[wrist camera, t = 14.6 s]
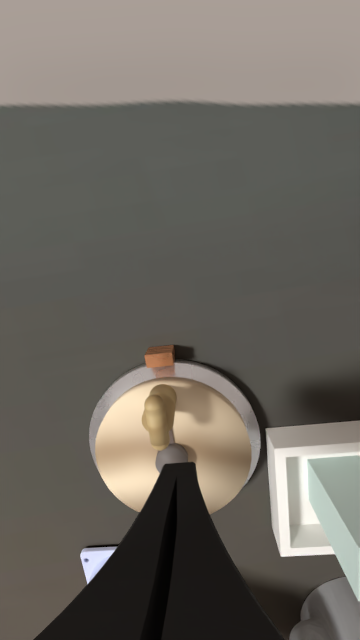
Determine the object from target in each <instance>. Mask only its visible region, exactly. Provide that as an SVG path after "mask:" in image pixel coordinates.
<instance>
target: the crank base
mask: <svg viewBox="0 0 360 640" xmlns="http://www.w3.org/2000/svg"><path fill="white" fill-rule="evenodd" d="M145 360H146V363H144V364H141V365H139V366H137V367H134V368H132V369H130V370H129V371H127V372H126V373H124V374H122V375H121V376H120V377H119V378H118V379H116V380H115V381H114V382H113V383H112V384H111V386H110V387H109V388H108V389H107V390H106V392H105V393H104V395H103V396H102V398H101V399H100V401H99V402H98V404H97V406H96V408H95V410H94V413H93V416H92V419H91V424H90V431H89V442H90V449H91V453H92V457H93V460H94V462H95V464H96V467H97V469H98V466H97V462H96V455H95V443H96V436H97V433H98V430H99V427H100V425H101V423H102V421H103V419H104V417H105V415H106V413H107V412H108V410H109V409H110V407H111V406H112V404H113V403H114V402H115V401H116V400H117V398H118V397H119V396H121V395H122V394H123V393H124V392H125V391H127V390H128V389H130V388H132V387H133V386H135V385H137V384H139V383H142V382H144V381H147V380H151V379H155V378H161V377H182V378H188V379H193V380H196V381H199V382H202V383H204V384H206V385H208V386H211V387H213V388H214V389H216V390H217V391H219V392H220V393H222V394H223V395H224V396H225V397H226V398H227V399H229V401H230V402H231V403H232V404H233V405H234V406H235V407H236V409H237V410H238V412H239V413H240V415H241V417H242V419H243V421H244V424H245V427H246V430H247V433H248V436H249V439H250V444H251V451H252V460H251V467H250V471H249V474H248V477H247V479H246V481H245V483H244V485H243V487H244V486H245V484H246V483H247V482H248V480H249V479H250V477H251V476H252V474H253V472H254V470H255V467H256V465H257V462H258V458H259V453H260V431H259V426H258V423H257V419H256V416H255V414H254V411H253V409H252V407H251V405H250V403H249V401H248V399H247V398H246V396H245V395H244V393H243V392H242V391H241V390H240V388H239V387H238V386H237V385H236V384H235V383H234V382H233V381H232V380H230V379H229V378H228V377H227V376H225V375H224V374H222V373H221V372H219V371H218V370H215V369H213V368H211V367H209V366H207V365H204V364H201V363H198V362H194V361H189V360H183V359H175V351H174V345H168V346H158V347H149V348H148V350H147V352H146V354H145ZM98 471H99V469H98ZM243 487H242V488H243ZM242 488H241V489H242Z"/></svg>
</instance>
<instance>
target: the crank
mask: <svg viewBox="0 0 360 640" xmlns="http://www.w3.org/2000/svg"><path fill="white" fill-rule="evenodd" d="M95 455H96V462H97V466H98V469H99V472H100V474H101V476H102V478H103V480H104V482H105V483H106V485H107V487H108V488H109V489H110V490H111V492H112V493H113V494H114V495H115V496H116V497H117V498H118V499H119V500H120V501H122V502H123V503H124V504H126V505H127V506H129V507H130V508H132V509H134V510H135V511H137V512H140V511H141V509H142V508H143V506H144V504H145V502H146V500H147V499H148V497H149V495H150V493H151V491H152V489H153V487H154V485H155V483H156V481H157V479H158V477H159V474H160V472H161V470H162V467H163V466H164V464H170V463H183V462H194V463H195V464H196V470H197V478H198V483H199V487H200V490H201V493H202V496H203V499H204V501H205V504H206V507H207V509H208V512H209V514H211V513H213V512H215V511H217V510H219V509H220V508H222V507H224V506H225V505H226V504H228V503H229V502H230V501H231V500H232V499H233V498H234V497H235V496H236V495H237V494H238V493H239V491H240V490H241V488H242V487H243V485H244V483H245V481H246V479H247V477H248V474H249V471H250V467H251V460H252V451H251V444H250V439H249V436H248V433H247V430H246V427H245V424H244V421H243V419H242V417H241V415H240V413H239V412H238V410H237V409H236V407H235V406H234V405H233V404H232V403H231V402H230V401H229V399H227V398H226V397H225V396H224V395H223V394H222V393H220V392H219V391H217V390H216V389H214V388H213V387H211V386H208V385H206V384H204V383H202V382H199V381H196V380H193V379H188V378H182V377H161V378H155V379H151V380H147V381H144V382H142V383H139V384H137V385H135V386H133V387H132V388H130V389H128V390H127V391H125V392H124V393H123V394H122V395H121V396H119V397H118V398H117V400H116V401H115V402H114V403H113V404H112V406H111V407H110V409H109V410H108V412H107V413H106V415H105V417H104V419H103V421H102V423H101V425H100V427H99V430H98V433H97V436H96V443H95Z"/></svg>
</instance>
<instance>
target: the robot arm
mask: <svg viewBox="0 0 360 640" xmlns="http://www.w3.org/2000/svg"><path fill="white" fill-rule="evenodd" d="M81 560H82V564H83V568H84V572H85V576H86V579H87V583H88V584H87V585H86V586H85V588H84V589H83V590H82V591H81V592H80V593H79V594H78V595H77V596H76V598H75V599H74V600H73V601H72V602H71V603H70V604H69V605H68V606H67V607H66V608H65V609H64V611H63V612H62V613H61V614H60V615H58V616H57V617H56V618H55V619H54V620H53V621H52V622H51V623H50V624H49V625H48V626H47V627H46V628H45V629H44V630H43V631H42V632H41V633H40V634H39V635H38V636H37V637H36V638H35V639H34V640H284V639H283V636H282V634H281V633H280V632H279V630H278V629H277V628H276V626H275V625H274V623H273V622H272V621H271V619H270V618H269V617H268V615H267V614H266V612H265V611H264V610H263V608H262V607H261V605H260V604H259V602H258V601H257V599H256V598H255V596H254V595H253V593H252V592H251V590H250V589H249V587H248V586H247V584H246V582H245V581H244V579H243V577H242V576H241V574H240V573H239V571H238V569H237V568H236V566H235V564H234V563H233V561H232V559H231V557H230V555H229V554H228V552H227V550H226V548H225V546H224V544H223V542H222V540H221V538H220V536H219V534H218V532H217V530H216V528H215V526H214V524H213V521H212V519H211V517H210V514H209V512H208V509H207V507H206V504H205V501H204V499H203V496H202V493H201V490H200V487H199V483H198V478H197V470H196V464H195V463H194V462H183V463H170V464H164V466H163V467H162V470H161V472H160V474H159V477H158V479H157V481H156V483H155V485H154V487H153V489H152V491H151V493H150V495H149V497H148V499H147V500H146V502H145V504H144V506H143V508H142V509H141V511H140V513H139V514H138V516H137V518H136V519H135V521H134V523H133V524H132V526H131V528H130V529H129V531H128V532H127V534H126V535H125V537H124V538H123V540H122V541H121V542H120V544H119V545H118V546H117V547H98V548H85V549H83V550H82V552H81Z"/></svg>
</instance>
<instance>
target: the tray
mask: <svg viewBox="0 0 360 640" xmlns="http://www.w3.org/2000/svg"><path fill="white" fill-rule="evenodd" d="M265 431H266V445H267V460H268V474H269V489H270V503H271V518H272V528H273V532H274V535H275V538H276V542H277V545H278V548H279V552H280V555H281V557H283V556H303V555H324V554H335V553H334V551H333V549H332V547H331V544H330V542H329V540H328V538H327V536H326V534H325V532H324V530H323V528H322V526H321V524H320V522H319V520H318V518H317V516H316V514H315V512H314V510H313V508H312V506H311V503H310V501H309V496H308V468H307V459H315V458H328V457H342V456H355V455H358V456H359V457H360V421H348V422H336V423H324V424H312V425H300V426H288V427H276V428H265Z"/></svg>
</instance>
